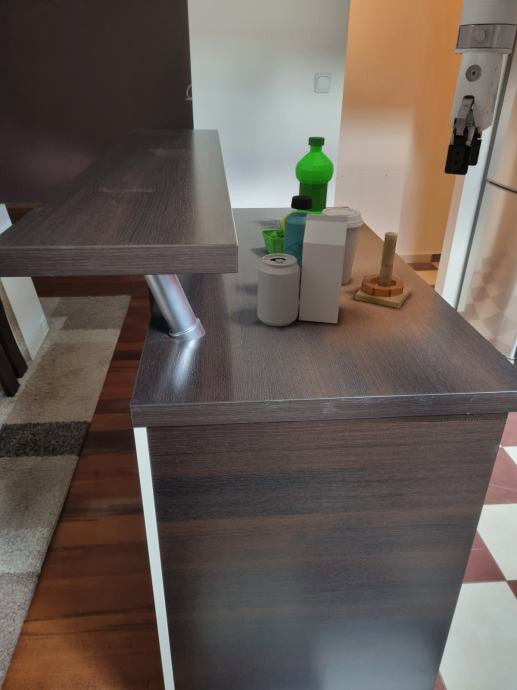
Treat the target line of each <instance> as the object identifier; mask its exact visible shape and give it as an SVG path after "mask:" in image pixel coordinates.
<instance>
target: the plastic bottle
mask: <svg viewBox="0 0 517 690" xmlns="http://www.w3.org/2000/svg"><path fill="white" fill-rule="evenodd" d="M325 140H326V138H325V137H324V136H323V137H322V136H308V142H307V143H308V144H307V145H308V146H309V151H308V152H307V153H306V154H305V155H304V156H303V157H301V158H300V160H298V162H297V163H296V166H295V173H294V174H295V178H296V180H298V182H299V183H298V184H299V185H298V188H299V189H298V195H306V196H310V197H312V205H313V207H312V209H309V210H297V209H296V211H298V212H306V213H310V214H318V215H321V213H322V211H323V210H324V209H327V202H328V201H327V199H328V188H329V183H330V181H331V180H332V179H333V176H334V171H335V170H334V169H335V167H334V163H333V162H332V160H331V159H330V158H329V157H328V155H326V154H325V153H324V152H323V147H324V146H325Z"/></svg>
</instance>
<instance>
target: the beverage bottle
mask: <svg viewBox="0 0 517 690" xmlns="http://www.w3.org/2000/svg"><path fill="white" fill-rule="evenodd" d="M312 207H313V205H312V197H310V196H306V195H299V194H297V195H293V196H292V197H291V202H290V208H291V209H293V210H296V211H297V210H309V209H312ZM290 213H291V212H290ZM288 214H289V213H288ZM288 214H287V215H288ZM307 214H310V213H306V212H294V213H291V214H289V215H288V216H287V217H286V218H285V230H284V249H283V251H282V252H283V253H282V254H288V255H292V256H294V257H295V258H296V259H297V262H296V263H297V264H298V265H299V266H300V280H299V294H300V290H301V274H302V257H303V241H304V234H305V226H306V218H307Z"/></svg>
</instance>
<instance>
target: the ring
mask: <svg viewBox="0 0 517 690" xmlns="http://www.w3.org/2000/svg"><path fill="white" fill-rule="evenodd" d="M379 276H380V273H379V274H378V273H377V274H374V273H373V274H370V275H364V276H363V277H362V280H361V286H360V289H362V290H363V291H364V292H366V293H368V294H370V295H373V294H374V296H381V297H389V296H390V297H394V296H398V295H401V294H403V288H404V287H405V281H403V280H402V279H401V278H398V277H396V276H393V275H392V277H391V284H390V287H382V286H376V285H374V284H378V283H379Z"/></svg>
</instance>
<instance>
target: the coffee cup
mask: <svg viewBox="0 0 517 690" xmlns="http://www.w3.org/2000/svg"><path fill="white" fill-rule="evenodd" d="M321 215H334V216H348V221H347V232H346V242H345V252H344V262H343V272H342V282H341V285H345V284H346V285H347V284H348V283H349V282H350V280H351V276H352V272H353V266H354V262H355V261H354V260H355V256H356V251H357V246H358V241H359V235H360V230H361V227H362V226H363V225H364V219H363V217H362V215H361V212H360V211H359V210H358V209H354V208H351V207H350V208H349V207H341V206H337V207H326V209H324V210H323V211H322V213H321Z"/></svg>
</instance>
